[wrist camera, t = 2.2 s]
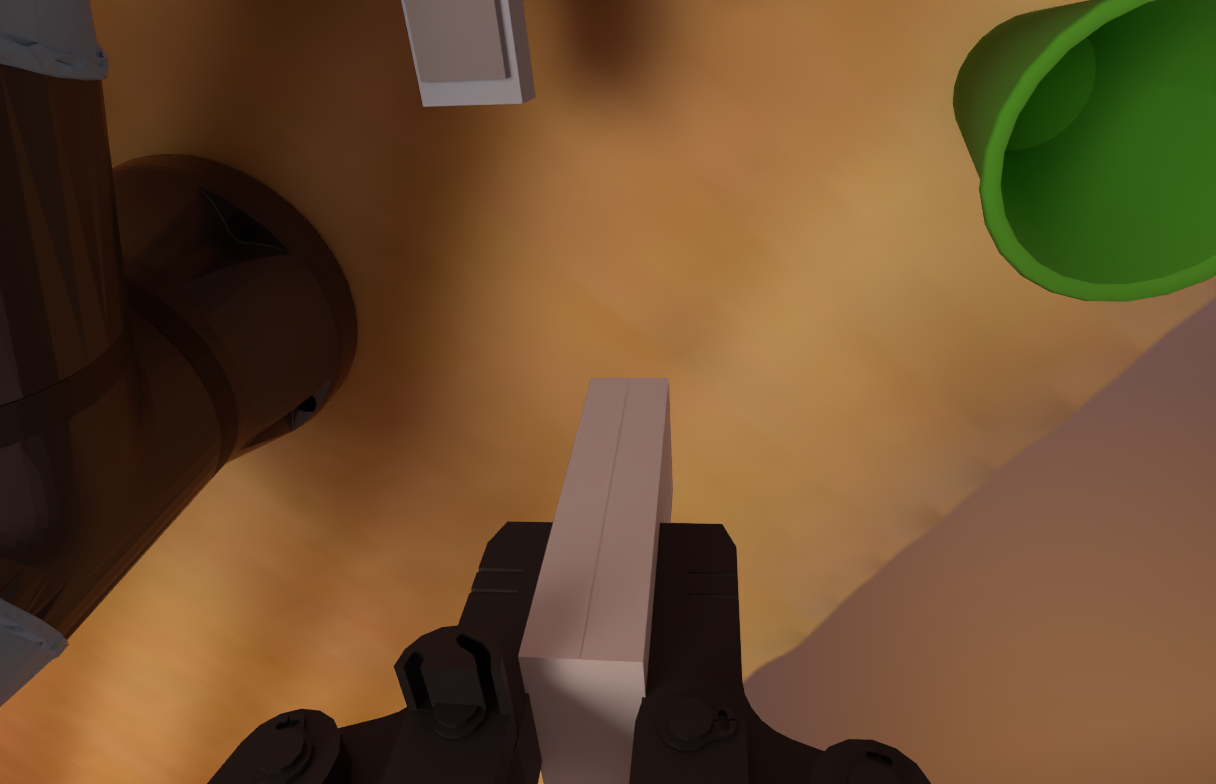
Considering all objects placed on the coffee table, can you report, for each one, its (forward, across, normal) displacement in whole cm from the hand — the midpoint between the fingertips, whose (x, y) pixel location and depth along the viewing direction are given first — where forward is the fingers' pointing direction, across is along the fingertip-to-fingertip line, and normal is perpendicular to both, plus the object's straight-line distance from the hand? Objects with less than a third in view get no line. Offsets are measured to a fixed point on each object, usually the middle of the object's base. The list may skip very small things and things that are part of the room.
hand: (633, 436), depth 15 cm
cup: (+21, +14, +2) cm, 26 cm away
